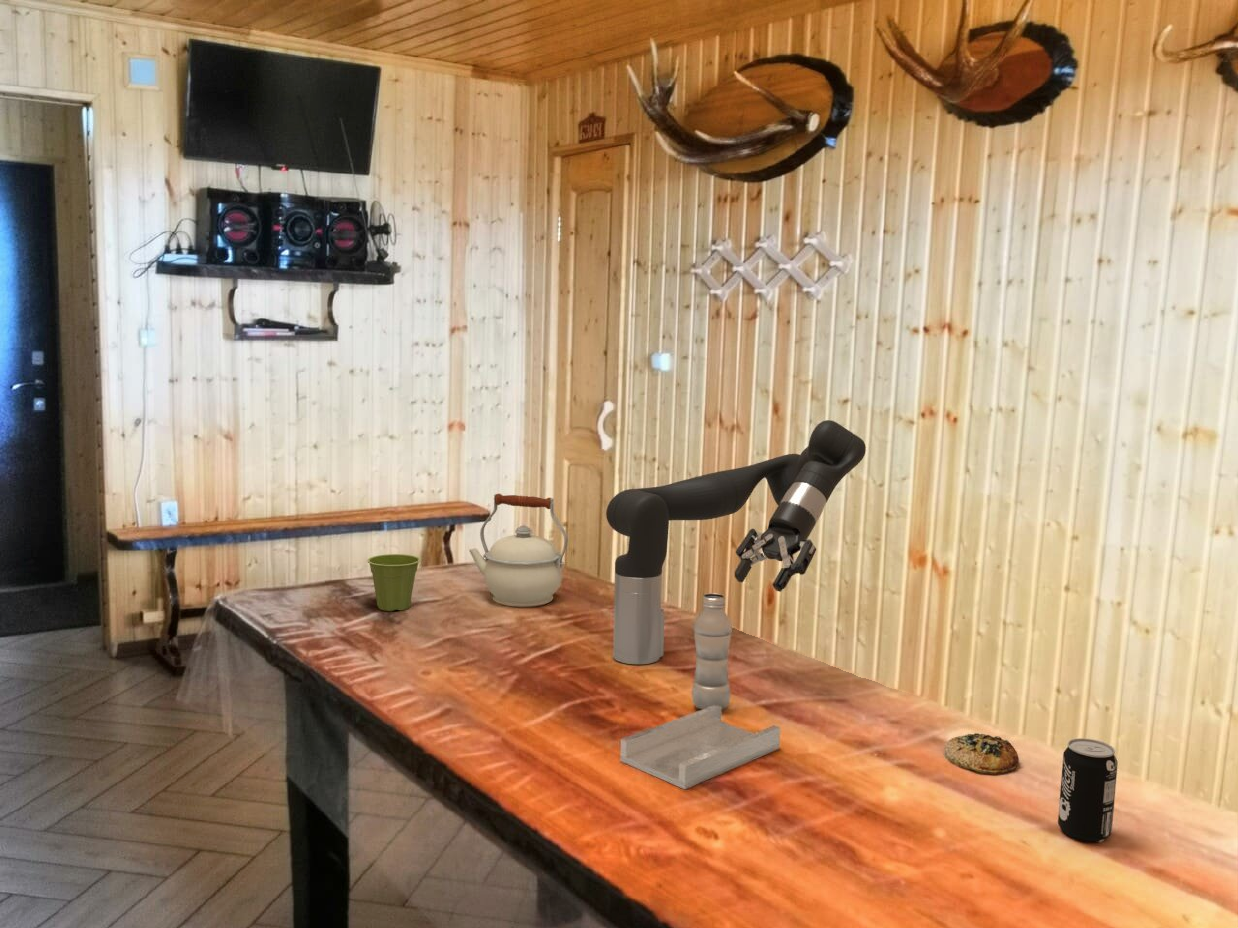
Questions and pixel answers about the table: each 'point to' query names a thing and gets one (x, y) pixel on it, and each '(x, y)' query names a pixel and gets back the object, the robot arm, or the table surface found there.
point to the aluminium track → (696, 747)
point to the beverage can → (1087, 790)
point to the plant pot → (393, 580)
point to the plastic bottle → (712, 654)
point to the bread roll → (982, 753)
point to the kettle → (521, 560)
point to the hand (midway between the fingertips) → (756, 584)
